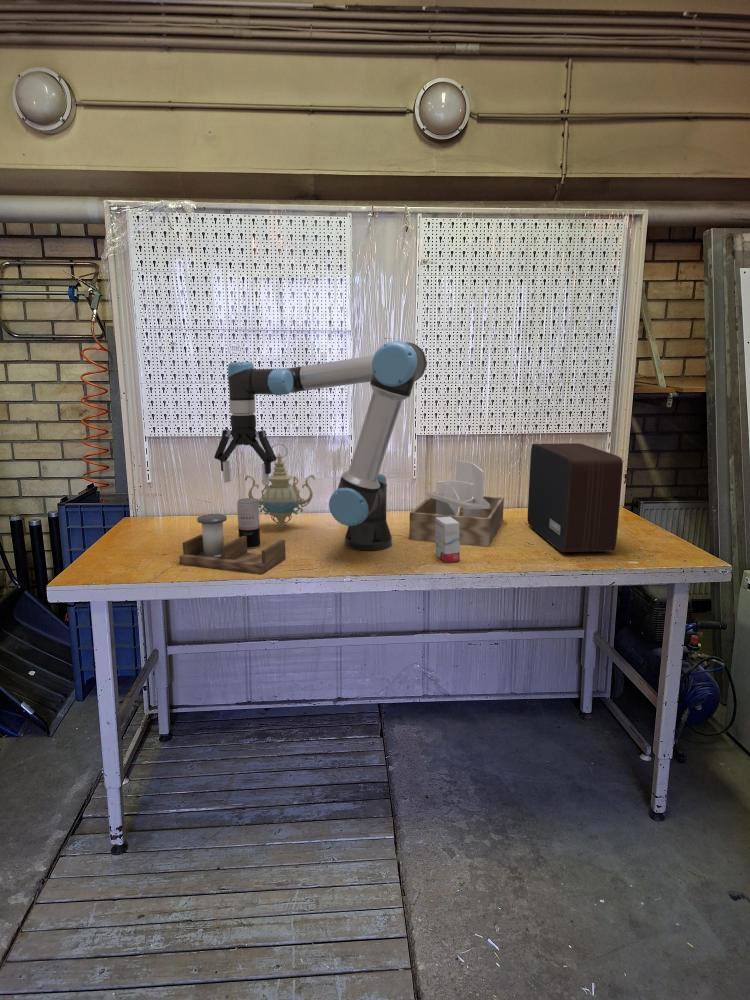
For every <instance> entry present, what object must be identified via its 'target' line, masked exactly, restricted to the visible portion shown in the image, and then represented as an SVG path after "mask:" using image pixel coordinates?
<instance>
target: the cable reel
mask: <svg viewBox="0 0 750 1000" xmlns="http://www.w3.org/2000/svg"><path fill="white" fill-rule="evenodd" d="M227 520H228V518H227V515H225V514H219V513H210V514H209V513H208V514H204V515H200V516H198V517H197V518H196V522H197V523H199V524H201V534H202V536H203V551H202V552H200V553H199V555H200V556H204V557H213V558H222V554H221V547H222V546H224V545H225V542H224V541H225V540H224V537H225V536H224V524H223V523H224V522H226V521H227Z"/></svg>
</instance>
